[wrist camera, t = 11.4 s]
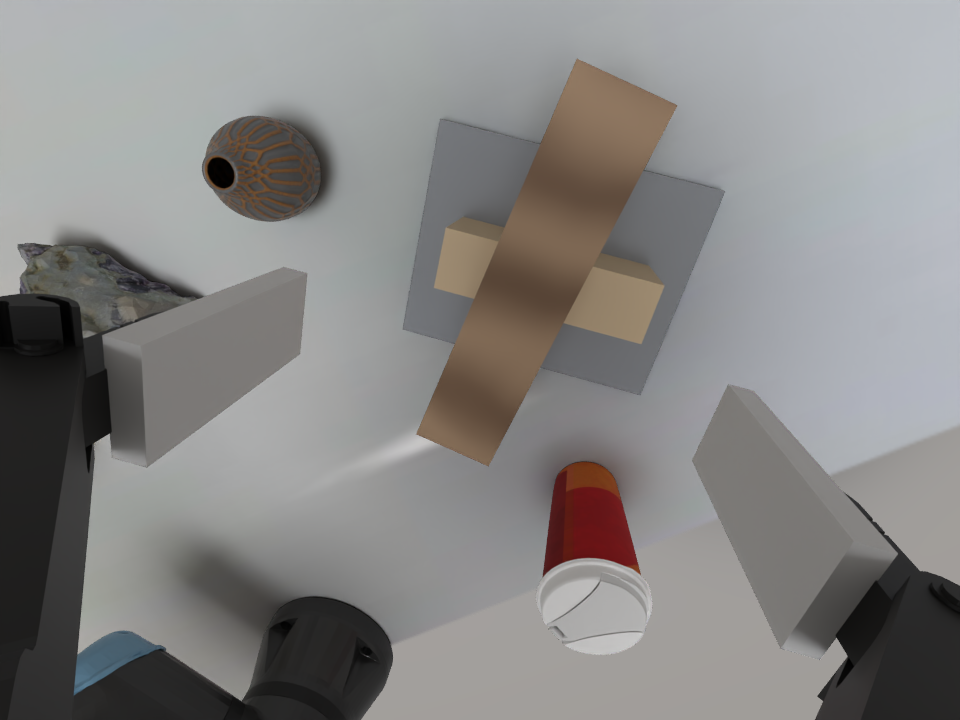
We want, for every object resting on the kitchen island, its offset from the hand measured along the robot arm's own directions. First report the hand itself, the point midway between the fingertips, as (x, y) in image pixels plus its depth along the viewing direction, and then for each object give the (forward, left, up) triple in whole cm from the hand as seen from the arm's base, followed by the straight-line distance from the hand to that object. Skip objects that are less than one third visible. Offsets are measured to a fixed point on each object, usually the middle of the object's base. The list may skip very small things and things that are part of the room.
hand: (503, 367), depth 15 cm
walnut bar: (-1, 0, -17) cm, 17 cm away
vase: (0, +20, -25) cm, 32 cm away
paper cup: (-20, -10, -24) cm, 33 cm away
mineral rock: (-13, +33, -25) cm, 43 cm away
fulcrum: (-2, -1, -24) cm, 24 cm away
